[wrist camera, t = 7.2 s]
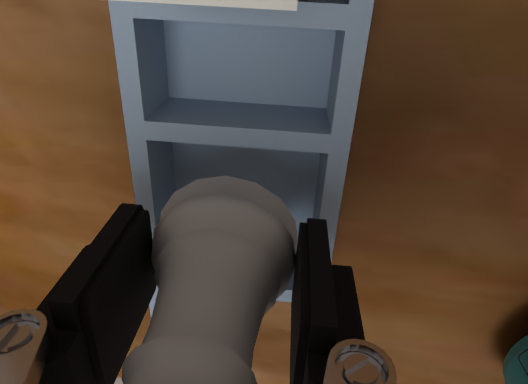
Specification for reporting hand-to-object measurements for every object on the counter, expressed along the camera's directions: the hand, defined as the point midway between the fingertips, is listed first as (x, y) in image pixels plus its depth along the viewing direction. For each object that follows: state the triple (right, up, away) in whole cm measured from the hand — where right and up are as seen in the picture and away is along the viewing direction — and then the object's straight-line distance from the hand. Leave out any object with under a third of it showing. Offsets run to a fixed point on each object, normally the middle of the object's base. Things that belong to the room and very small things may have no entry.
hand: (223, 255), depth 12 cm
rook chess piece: (0, +1, +1) cm, 2 cm away
